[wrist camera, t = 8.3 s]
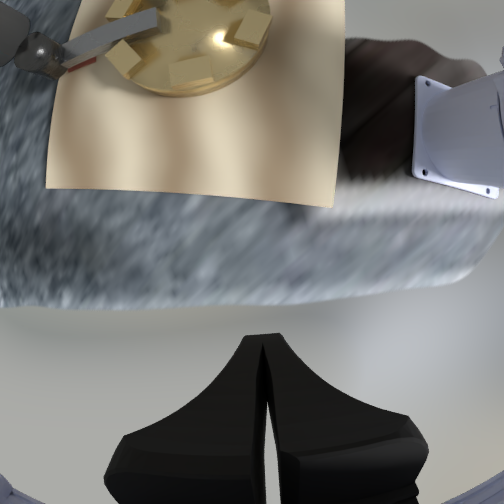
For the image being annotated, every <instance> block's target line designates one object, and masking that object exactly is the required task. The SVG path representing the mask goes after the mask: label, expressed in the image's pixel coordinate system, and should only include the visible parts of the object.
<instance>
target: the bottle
mask: <svg viewBox="0 0 504 504" xmlns="http://www.w3.org/2000/svg"><path fill="white" fill-rule="evenodd" d="M29 28H30V21H29V19H28V17H26V16H25V15H23V14H22V13H20V12H18V11H17V10H15V9H13V8H11V7H10V6H8V5H6V4H4V3H2V2H1V1H0V66H3V65H5V64H6V63H8V62H9V61H10V60H11V59H12V58H13V57H14V56H15V54H16V51H17V49H18V47H19V45H20V44H21V42H22V41H23V40H24V39H25V38H26V37H27V35H28V32H29Z"/></svg>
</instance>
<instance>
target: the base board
mask: <svg viewBox="0 0 504 504" xmlns="http://www.w3.org/2000/svg"><path fill="white" fill-rule="evenodd" d="M114 1H115V0H82V2H81V5H80V8H79V10H78V13H77V16H76V19H75V22H74V25H73V28H72V31H71V35H70V38H69V41H70V40H72V39H74V38H76V37H78V36H80V35H82V34H85V33H87V32H89V31H91V30H93V29H96V28H98V27H100V26H103V25H105V24H108V23H110V22H109V21H108V20H107V19H106V18H105V16H106V14H107V12H108V11H109V9H110V7H111V6H112V4H113V2H114ZM268 2H269V6H270V15H272V16H273V18H272V24H271V26H270V28H269V35H268V40H267V44H266V46H265V49H264V51H263V53H262V55H261V56H260V58H259V59H258V61H257V62H256V63H255V65H254V66H253V67H252V68H251V69H250V70H249V71H248V72H247V73H246V74H244V75H243V76H242V77H241V78H240V79H238V80H236V81H235V82H233V83H232V84H230V85H228V86H226V87H224V88H222V89H220V90H217V91H215V92H212V93H209V94H205V95H201V96H195V97H186V98H175V97H166V96H160V95H157V94H154V93H151V92H149V91H147V90H145V89H143V88H142V87H140V86H139V85H137V84H136V83H135V82H133V81H132V80H131V79H130V80H128V79H126V78H125V77H124V76H122V74H121V73H120V72H119V71H118V70H117V69H116V68H115V66H114V65H113V64H112V63H111V62H110V61H109V60H108V58H107V57H106V56H105V54H106V53H108V52H109V51H107V52H105V53H102V54H100V55H98V56H95V57H93V58H90V59H88V60H86V61H84V62H81V63H79V64H77V65H75V66H73V67H71V68H68V70H67V71H66V72H65V74H64V75H62V76H61V77H60V78H59V81H58V86H57V91H56V96H55V102H54V108H53V114H52V121H51V129H50V137H49V146H48V157H47V172H46V188H56V189H109V190H135V191H155V192H172V193H187V194H201V195H214V196H226V197H237V198H248V199H258V200H268V201H278V202H287V203H295V204H304V205H312V206H320V207H328V208H333V202H334V194H335V185H336V176H337V166H338V156H339V145H340V133H341V120H342V105H343V86H344V60H345V0H268Z"/></svg>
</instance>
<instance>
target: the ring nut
mask: <svg viewBox="0 0 504 504" xmlns="http://www.w3.org/2000/svg"><path fill="white" fill-rule="evenodd" d="M105 18H106V19H107V20H108V21H109V22H110V23H108V24H105V25H103V26H100V27H98V28H96V29H93V30H91V31H89V32H87V33H85V34H82V35H80V36H78V37H76V38H74V39H72V40H70V41H68V42H66V43H64V44H62V45H60V44H59V43H57V42H55V41H53V40H52V39H50V38H48V37H47V36H45V35H43V34H41V33H40V32H34V33H32V34H30V35H28V36H27V37H26V38H25V39H24V40H23V41H22V42H21V44H20V45H19V47H18V49H17V51H16V54H15V58H14V63H15V66H16V67H18V68H20V69H23V70H26V71H28V72H31V73H33V74H36V75H39V76H41V77H44V78H46V79H49V80H56V79H58V78H60V77H61V76H62V75H64V74H65V72H66V71H67V70H68V68H71V67H73V66H75V65H77V64H79V63H81V62H84V61H86V60H88V59H90V58H93V57H95V56H98V55H100V54H102V53H105V52H107V51H109V52H108V53H106V54H105V56H106V57H107V58H108V60H109V61H110V62H111V63H112V64H113V65H114V66H115V68H116V69H117V70H118V71H119V72H120V73H121V74H122V76H124V77H125V78H126V79H128V80H130V79H131V80H132V81H133V82H135V83H136V84H137V85H139V86H140V87H142V88H143V89H145V90H147V91H149V92H151V93H154V94H157V95H160V96H166V97H175V98H186V97H195V96H201V95H205V94H209V93H212V92H215V91H217V90H220V89H222V88H224V87H226V86H228V85H230V84H232V83H233V82H235V81H236V80H238V79H240V78H241V77H242V76H243V75H244V74H246V73H247V72H248V71H249V70H250V69H251V68H252V67H253V66H254V65H255V63H256V62H257V61H258V59H259V58H260V56H261V55H262V53H263V51H264V49H265V46H266V44H267V40H268V35H269V28H270V26H271V24H272V18H273V16H272V15H270V6H269V2H268V0H115V1H114V2H113V4H112V6H111V7H110V9H109V11H108V12H107V14H106V16H105Z"/></svg>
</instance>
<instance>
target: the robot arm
mask: <svg viewBox="0 0 504 504" xmlns="http://www.w3.org/2000/svg"><path fill="white" fill-rule="evenodd" d="M500 62H501V64H502V66H503V68H504V47H503V48H502V57H501V58H500ZM425 82H427V84H428V86H427V85H426V84H425ZM423 170H425V175H423V174H422V171H423ZM412 174H413V176H414V177H416V178H419V179H423V180H427V181H431V182H435V183H439V184H443V185H447V186H450V187H454V188H457V189H461V190H464V191H468V192H471V193H475V194H478V195H481V196H484V197H488V198H491V199H497V197H498V192H499V188H502V189H504V70H503V71H500V72H497V73H494V74H491V75H488V76H485V77H482V78H479V79H476V80H473V81H471V82H468V83H465V84H462V85H459V86H457V87H454V88H451V87H449V86H446V85H444V84H441V83H439V82H437V81H434V80H432V79H429V78H426V77H424V76H418V77H416V78H415V129H414V148H413V161H412ZM486 189H487V193H486ZM267 402H268V407H269V413H270V418H271V423H272V428H273V433H274V439H275V444H276V450H277V458H278V472H279V486H280V500H281V504H419V503H418V501H417V498H416V496H418V494H419V490H418V487H417V485H416V483H415V480H416V478H417V476H418V475H419V473H420V471H421V469H422V467H423V465H424V463H425V461H426V459H427V456H428V453H429V449H428V444H427V443H426V441H425V439H424V438H423V436H422V434H421V433H420V431H419V429H418V428H417V427H416V425H415V424H414V423H413V422H412V420H411V419H410V418H409V416H407V415H403V414H399V413H395V412H391V411H387V410H383V409H380V408H377V407H374V406H372V405H369V404H367V403H364V402H361V401H359V400H357V399H355V398H353V397H350V396H349V395H347V394H345V393H343V392H341V391H340V390H338V389H336V388H334V387H333V386H331V385H330V384H328V383H327V382H326V381H324V380H323V379H322V378H320V377H319V376H318V375H317V374H316V373H314V372H313V371H312V370H311V369H310V368H309V367H308V366H307V365H306V364H305V363H304V362H303V361H302V360H301V359H300V358H299V357H298V356H297V355H296V354H295V353H294V351H293V350H292V349H291V348H290V346H289V345H288V343H287V342H286V341H285V339H284V337H283V336H282V335H281V334H280V333H272V334H260V335H246V336H244V337H243V339H242V341H241V343H240V345H239V346H238V348H237V350H236V351H235V353H234V355H233V356H232V358H231V359H230V360H229V362H228V363H227V365H226V366H225V367H224V368H223V370H222V371H221V372H220V373H219V375H218V376H217V377H216V378H215V379H214V380H213V382H212V383H211V384H210V385H209V386H208V387H207V388H206V389H205V390H203V391H202V392H201V393H200V394H199V395H198V396H197V397H195V398H194V399H193V400H191V401H190V402H189V403H187V404H186V405H185V406H183V407H182V408H180V409H179V410H178V411H176V412H174V413H172V414H171V415H169V416H167V417H166V418H164V419H162V420H160V421H158V422H156V423H154V424H152V425H150V426H147V427H145V428H142V429H140V430H138V431H135V432H133V433H130V434H127V435H124V436H123V438H122V440H121V441H120V443H119V445H118V446H117V448H116V450H115V452H114V454H113V456H112V459H111V461H110V463H109V466H108V468H107V470H106V473H105V475H104V484H105V486H106V487H107V489H108V491H109V492H110V494H111V495H112V496H113V497H114V499H115V500H116V501H117V502H118V503H119V504H266V487H265V465H264V446H265V431H266V415H267ZM0 504H45V503H42V502H40V501H38V500H36V499H34V498H32V497H30V496H28V495H26V494H24V493H22V492H20V491H18V490H16V489H14V488H13V487H12V486H11V484H10V483H9V482H8V481H7V480H6V479H5V478H4V477H3V476H2V475H1V474H0ZM442 504H504V470H503V471H502V472H500V473H499V474H497V475H495V476H494V477H492V478H490V479H489V480H487V481H485V482H483V483H482V484H480V485H478V486H476V487H474V488H472V489H471V490H469V491H467V492H465V493H463V494H461V495H459V496H457V497H455V498H452V499H450V500H449V501H446V502H444V503H442Z"/></svg>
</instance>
